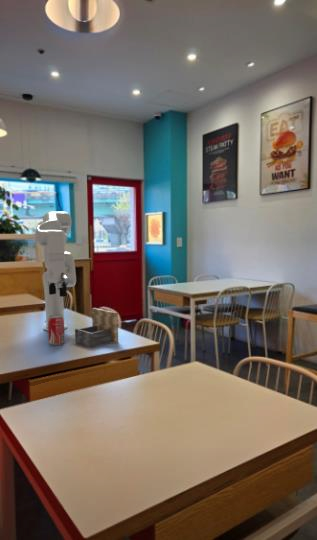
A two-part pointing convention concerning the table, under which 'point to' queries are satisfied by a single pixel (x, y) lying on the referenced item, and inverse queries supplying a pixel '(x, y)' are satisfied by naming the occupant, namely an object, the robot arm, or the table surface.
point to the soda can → (56, 330)
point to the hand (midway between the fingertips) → (57, 295)
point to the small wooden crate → (99, 329)
